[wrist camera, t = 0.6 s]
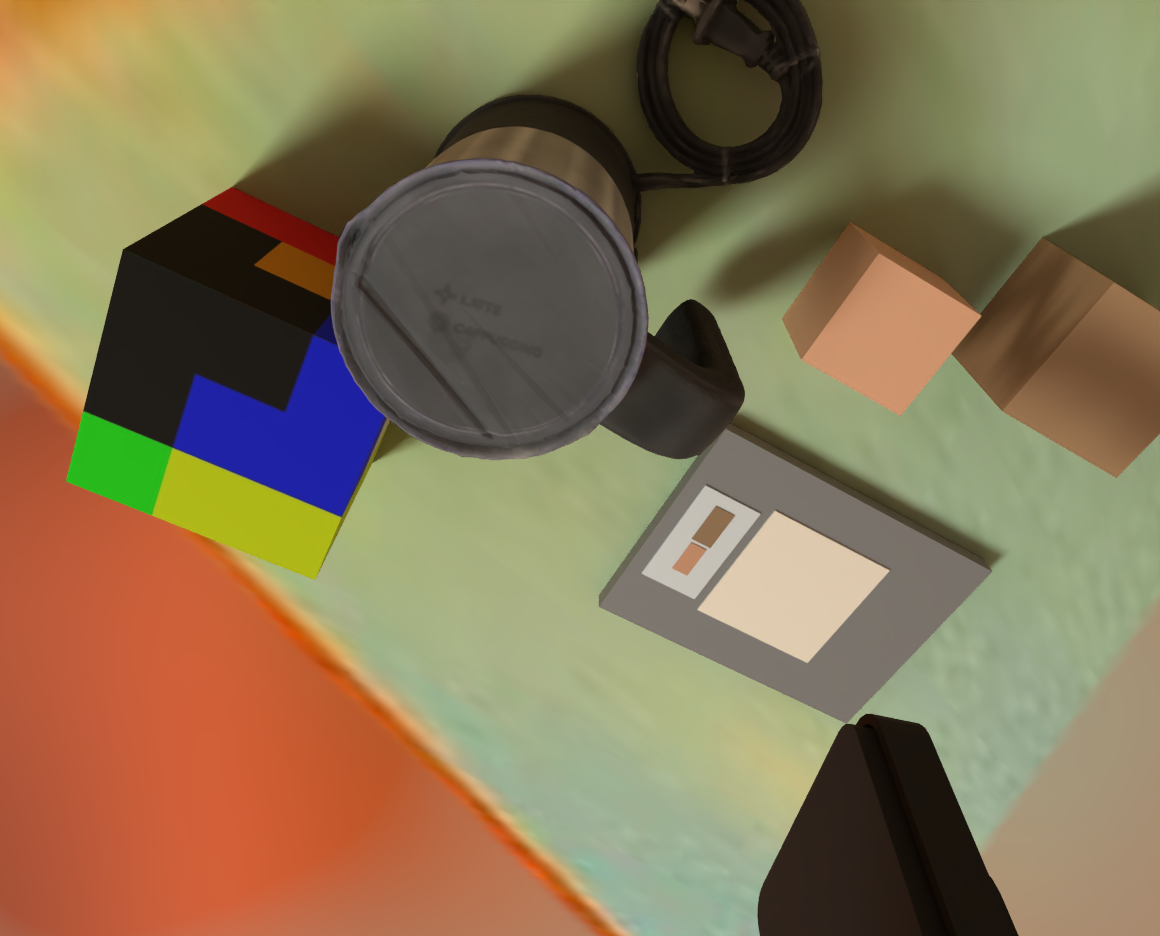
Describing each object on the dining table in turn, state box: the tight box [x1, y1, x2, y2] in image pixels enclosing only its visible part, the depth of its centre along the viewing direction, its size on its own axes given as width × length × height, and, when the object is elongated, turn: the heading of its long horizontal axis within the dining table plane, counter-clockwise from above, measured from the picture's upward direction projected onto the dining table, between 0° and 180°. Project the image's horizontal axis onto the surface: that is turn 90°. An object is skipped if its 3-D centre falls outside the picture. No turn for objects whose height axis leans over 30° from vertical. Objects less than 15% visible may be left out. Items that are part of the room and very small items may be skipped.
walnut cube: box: [951, 238, 1160, 478], centre depth 38 cm, size 6×6×6 cm
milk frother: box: [331, 0, 823, 460], centre depth 32 cm, size 14×16×15 cm
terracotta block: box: [782, 222, 981, 416], centre depth 39 cm, size 5×5×5 cm
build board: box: [599, 423, 992, 723], centre depth 47 cm, size 12×16×1 cm
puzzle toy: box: [66, 187, 390, 580], centre depth 38 cm, size 10×10×10 cm
